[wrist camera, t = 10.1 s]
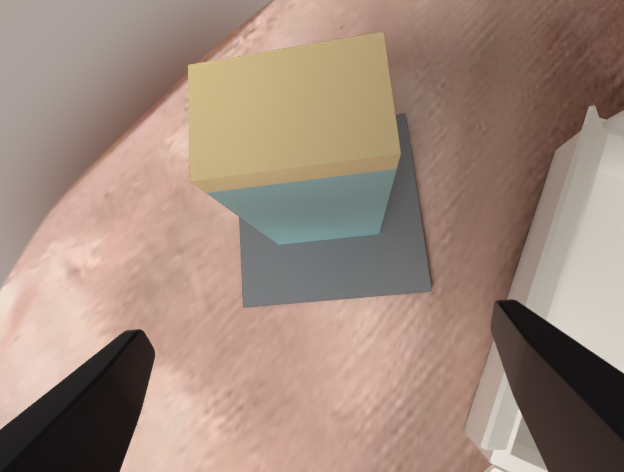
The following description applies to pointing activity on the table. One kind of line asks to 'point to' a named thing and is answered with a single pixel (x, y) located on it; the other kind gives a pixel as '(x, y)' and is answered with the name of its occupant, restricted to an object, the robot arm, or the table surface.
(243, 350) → the table surface
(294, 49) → the teal box
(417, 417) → the table surface
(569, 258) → the carton
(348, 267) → the charcoal mat
